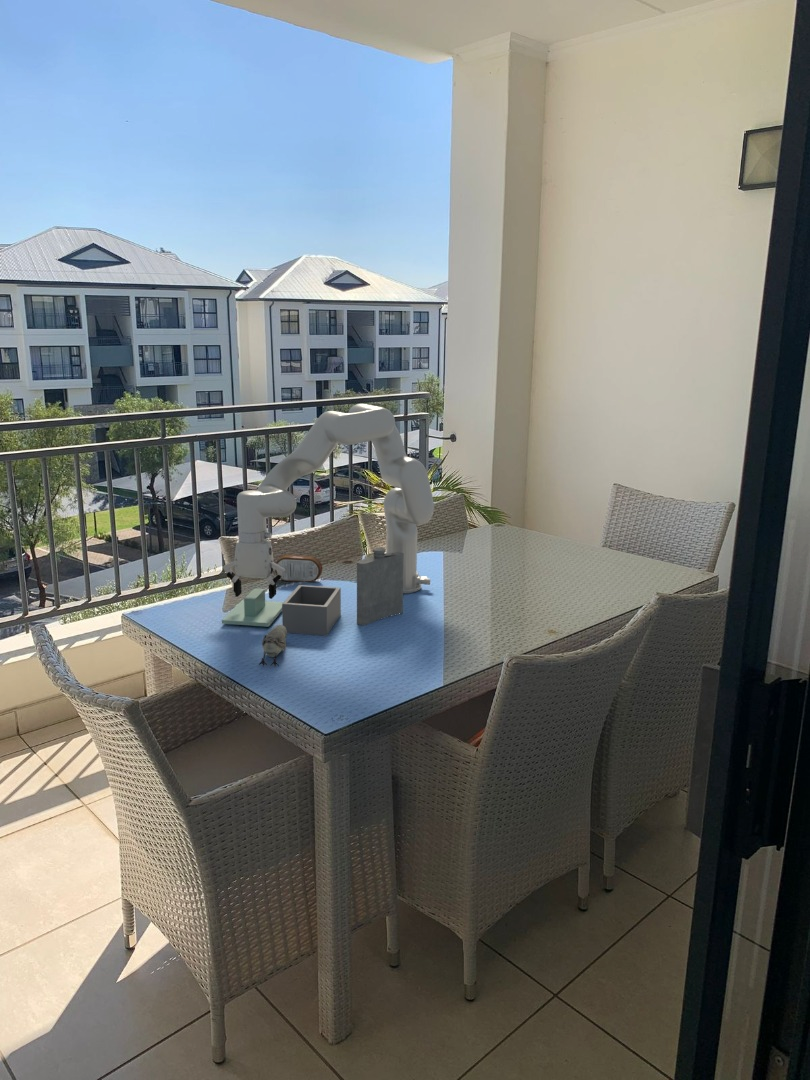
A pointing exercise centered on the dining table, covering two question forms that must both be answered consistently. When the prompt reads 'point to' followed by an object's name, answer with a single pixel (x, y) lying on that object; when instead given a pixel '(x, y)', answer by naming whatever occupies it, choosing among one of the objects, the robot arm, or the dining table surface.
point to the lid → (254, 610)
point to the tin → (300, 568)
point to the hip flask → (379, 586)
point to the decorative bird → (274, 643)
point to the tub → (311, 610)
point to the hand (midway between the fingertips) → (255, 596)
